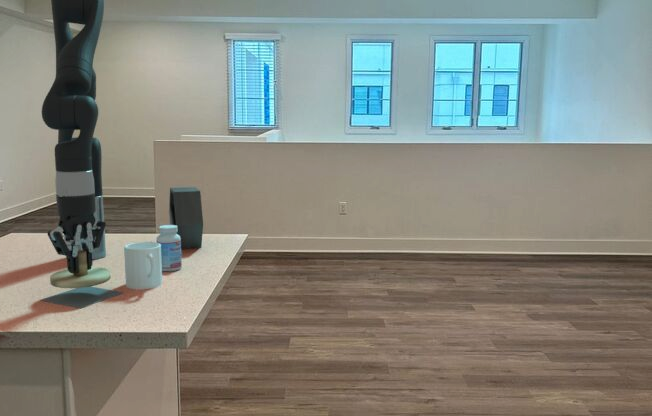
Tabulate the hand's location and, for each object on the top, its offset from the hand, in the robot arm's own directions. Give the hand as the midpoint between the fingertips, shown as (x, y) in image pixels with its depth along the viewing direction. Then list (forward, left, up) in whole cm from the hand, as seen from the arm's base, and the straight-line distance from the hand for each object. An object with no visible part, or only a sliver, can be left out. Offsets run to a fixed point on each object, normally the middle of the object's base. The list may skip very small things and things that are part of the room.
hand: (80, 270), depth 126 cm
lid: (0, 0, -2) cm, 2 cm away
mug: (+7, +12, -6) cm, 15 cm away
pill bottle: (0, +28, -6) cm, 29 cm away
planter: (-14, +52, -6) cm, 54 cm away
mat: (0, 0, -6) cm, 6 cm away
